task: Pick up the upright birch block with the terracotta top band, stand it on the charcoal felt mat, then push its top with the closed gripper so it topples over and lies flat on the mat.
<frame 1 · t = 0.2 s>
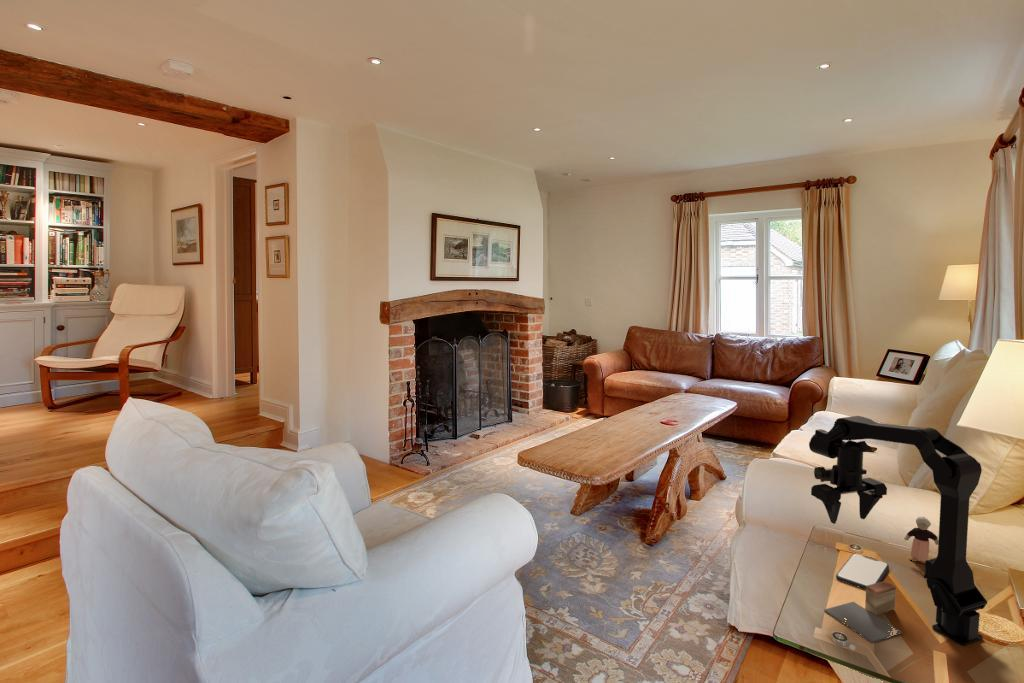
hand: (847, 520, 142), 14 cm above the table, tool pointing down, fingers open, 9 cm apart
birch block: (879, 609, 127), on the table
felt mat: (861, 622, 123), on the table
phone case: (862, 575, 143), on the table
grandmother figurine: (921, 561, 148), on the table
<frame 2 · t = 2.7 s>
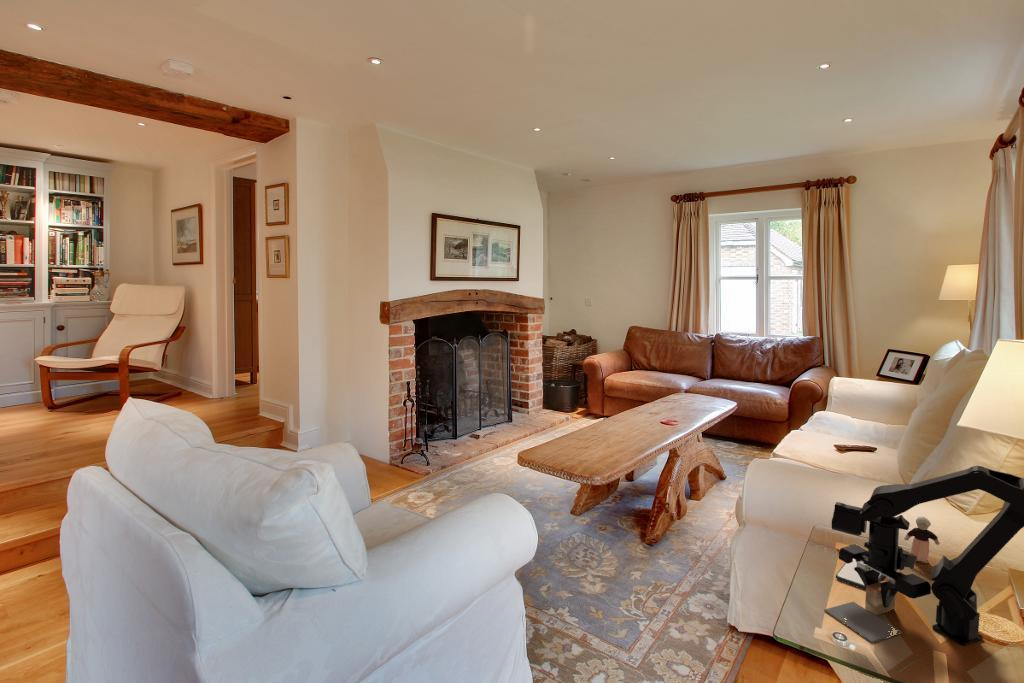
hand: (880, 603, 127), 2 cm above the table, tool pointing down, fingers closed on birch block, 3 cm apart
birch block: (879, 609, 127), on the table, touching gripper
everything else where it was.
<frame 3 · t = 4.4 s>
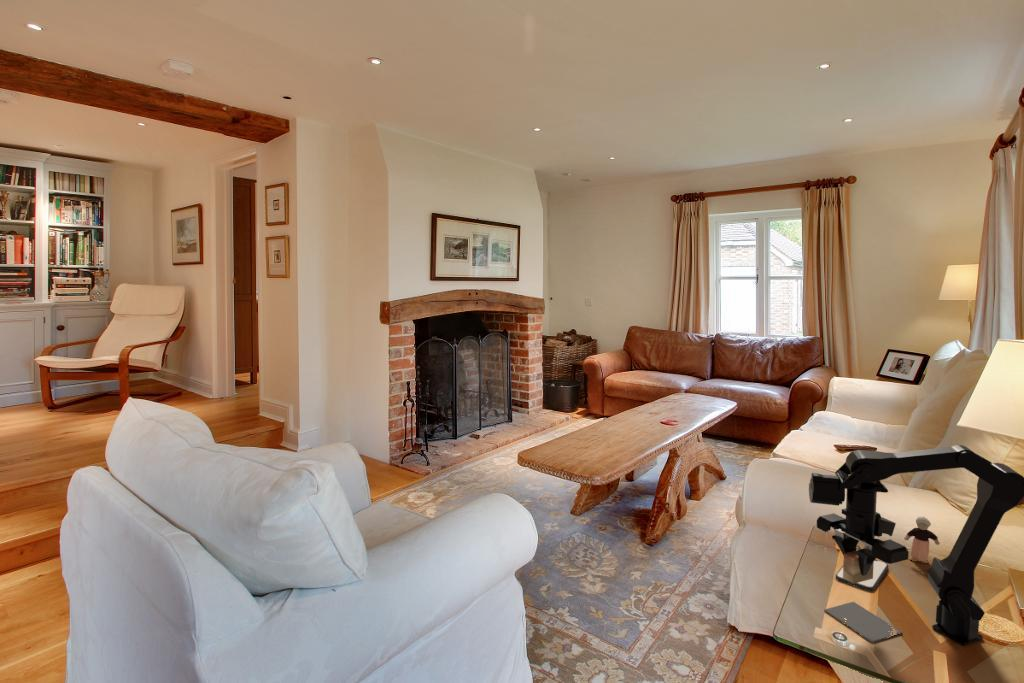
hand: (858, 571, 124), 11 cm above the table, tool pointing down, fingers closed on birch block, 3 cm apart
birch block: (857, 578, 124), point 9 cm above the table, touching gripper
everything else where it was.
when the fingers open (3 cm above the table, at t = 6.0 s): birch block stays where it is, resting on felt mat.
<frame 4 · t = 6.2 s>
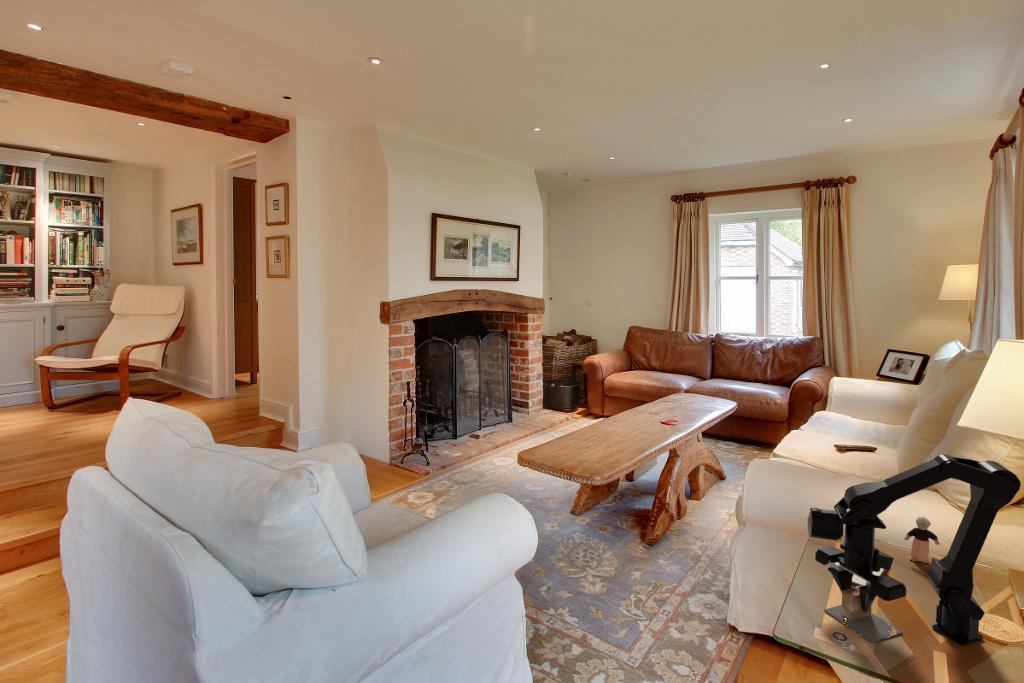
hand: (856, 606, 125), 3 cm above the table, tool pointing down, fingers open, 4 cm apart
birch block: (856, 614, 125), resting on felt mat
everything else where it was.
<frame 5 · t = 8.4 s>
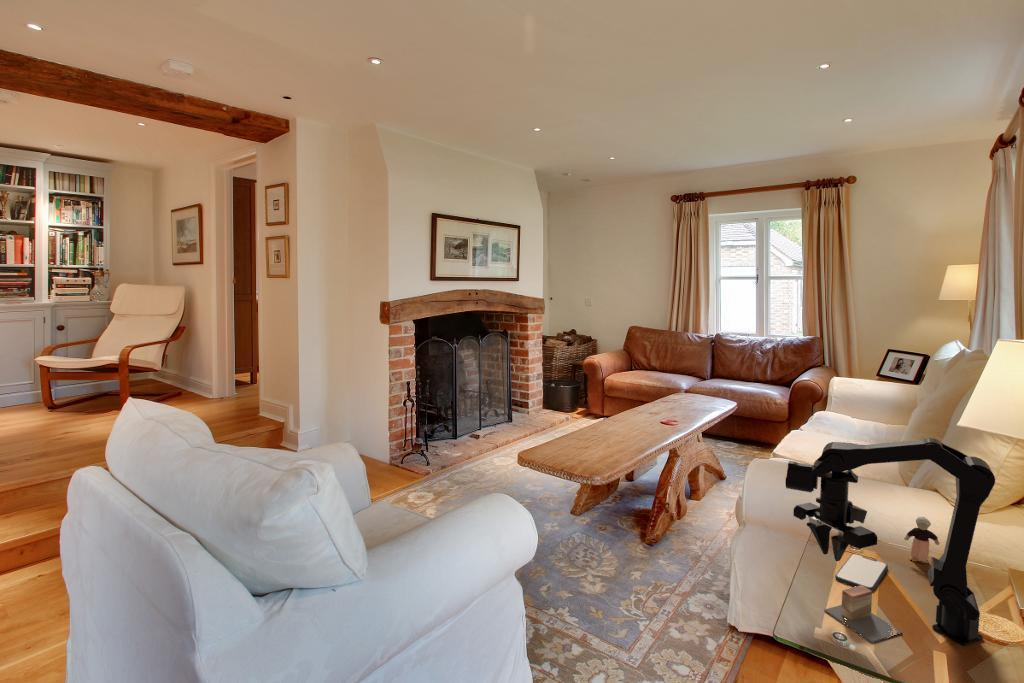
hand: (831, 557, 130), 11 cm above the table, tool pointing down, fingers open, 3 cm apart
nothing on the table moved.
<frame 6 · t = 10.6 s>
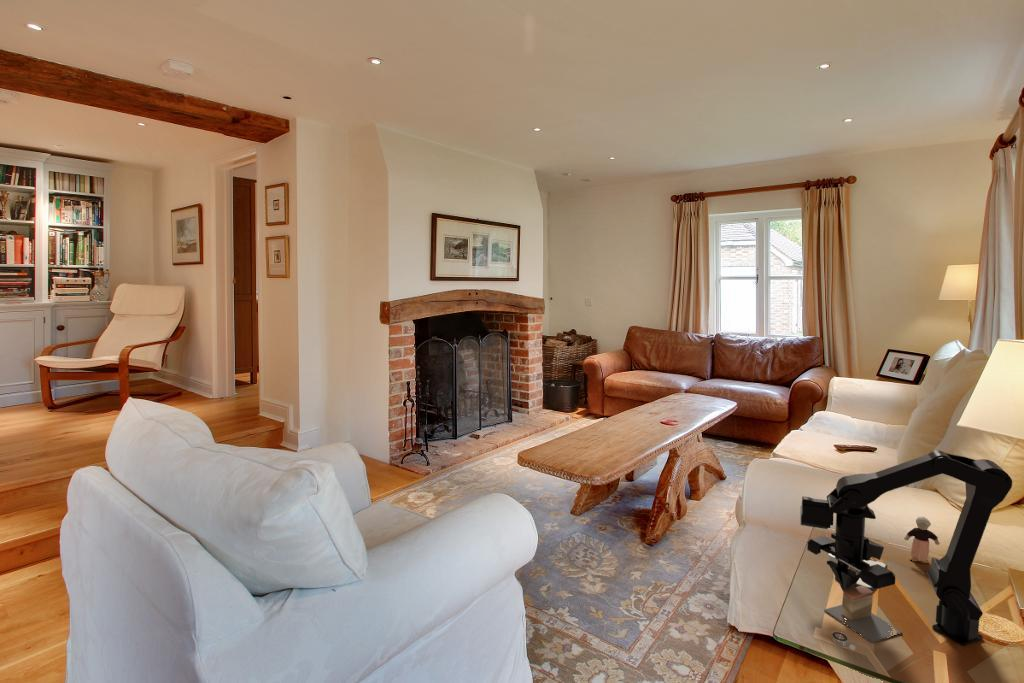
hand: (847, 594, 127), 4 cm above the table, tool pointing down, fingers closed
birch block: (856, 614, 125), resting on felt mat, touching gripper
everything else where it was.
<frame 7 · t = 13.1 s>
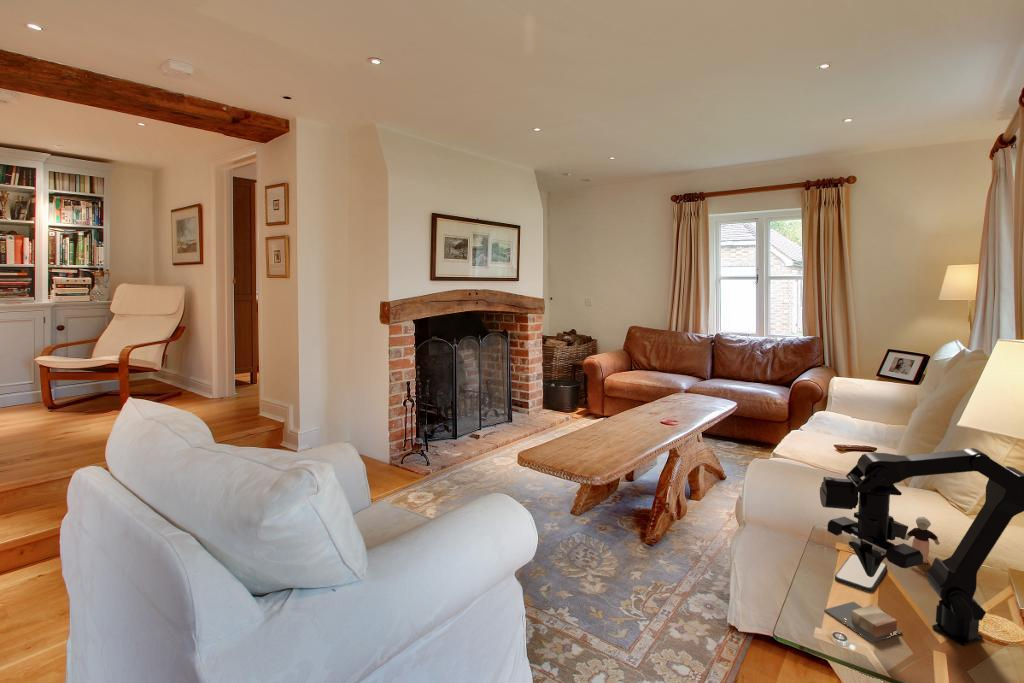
hand: (870, 576, 122), 11 cm above the table, tool pointing down, fingers closed
birch block: (861, 612, 123), point 2 cm above the table, tilted 90°, touching felt mat
everything else where it was.
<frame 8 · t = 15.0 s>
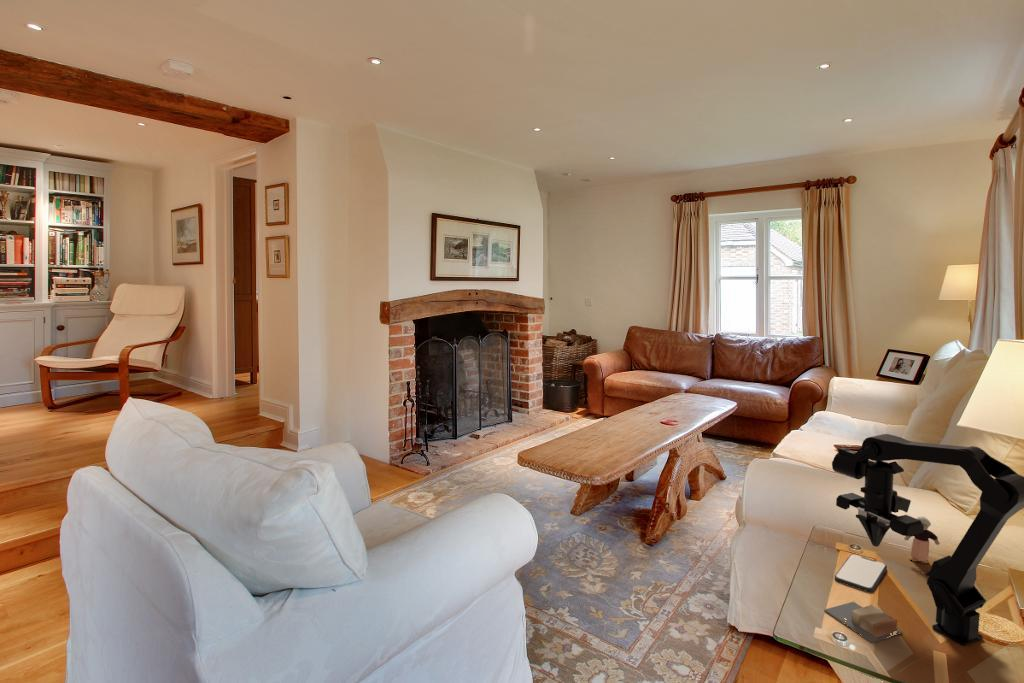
hand: (875, 545, 133), 12 cm above the table, tool pointing down, fingers closed
nothing on the table moved.
at the end: birch block tilted 90°; birch block inside the target area on the felt mat (0.8 cm from its centre), point 1.7 cm above the felt mat's base; the gripper is holding nothing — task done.
